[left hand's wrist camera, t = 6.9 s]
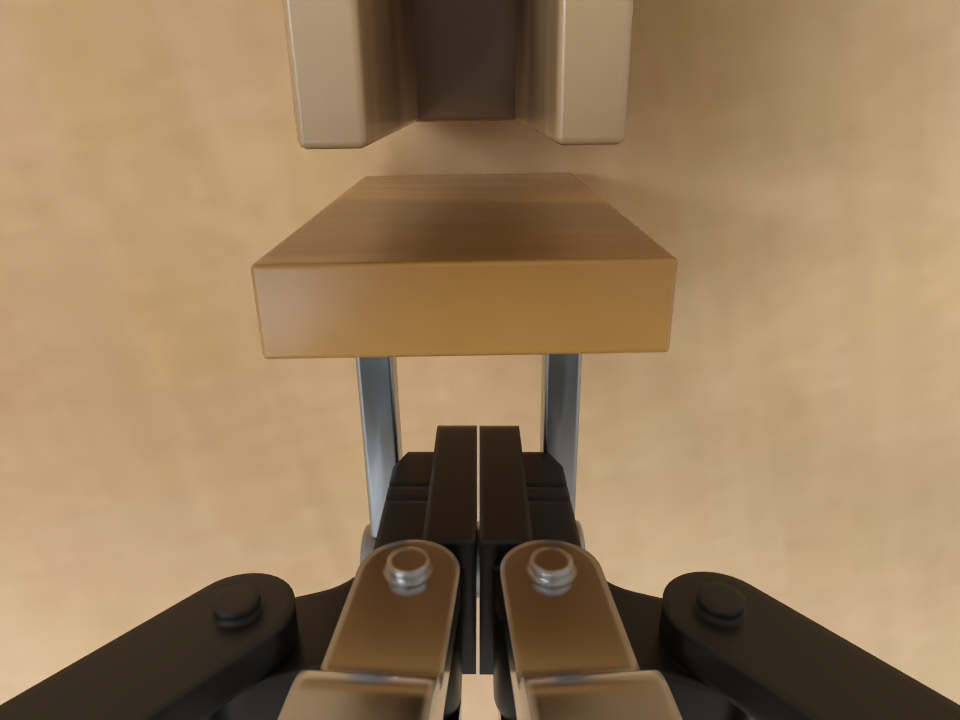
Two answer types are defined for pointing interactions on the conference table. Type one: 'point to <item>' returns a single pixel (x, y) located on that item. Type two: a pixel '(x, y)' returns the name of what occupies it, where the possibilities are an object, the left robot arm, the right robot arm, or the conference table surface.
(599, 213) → the drawer
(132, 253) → the conference table surface
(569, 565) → the left robot arm
